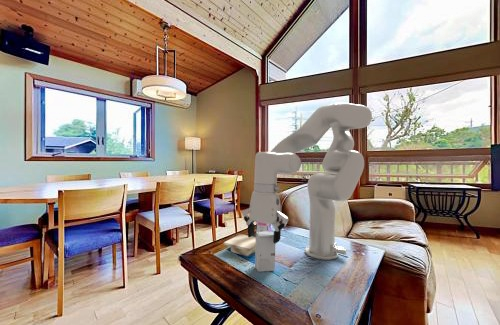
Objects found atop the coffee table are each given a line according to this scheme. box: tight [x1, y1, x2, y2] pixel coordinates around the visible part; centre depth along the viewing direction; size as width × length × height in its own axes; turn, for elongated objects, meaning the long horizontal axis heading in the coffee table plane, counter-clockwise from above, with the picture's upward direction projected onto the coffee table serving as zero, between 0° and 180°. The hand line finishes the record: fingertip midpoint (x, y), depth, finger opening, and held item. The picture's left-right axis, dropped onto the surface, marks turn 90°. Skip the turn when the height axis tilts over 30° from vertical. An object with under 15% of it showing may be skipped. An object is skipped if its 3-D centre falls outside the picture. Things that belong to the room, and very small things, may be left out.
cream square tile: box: [223, 233, 256, 257], centre depth 97 cm, size 12×12×4 cm
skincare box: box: [254, 230, 276, 273], centre depth 81 cm, size 6×4×12 cm
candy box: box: [255, 221, 272, 233], centre depth 117 cm, size 14×6×16 cm, turn 168°
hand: (263, 239), depth 81 cm, fingers open, 9 cm apart
